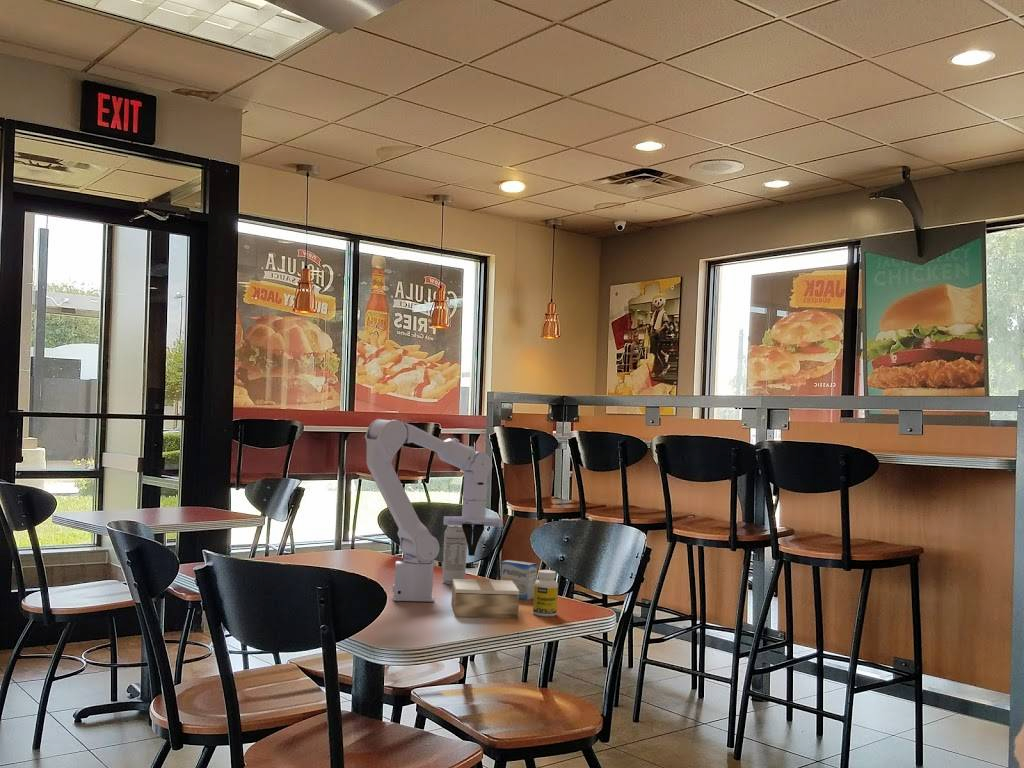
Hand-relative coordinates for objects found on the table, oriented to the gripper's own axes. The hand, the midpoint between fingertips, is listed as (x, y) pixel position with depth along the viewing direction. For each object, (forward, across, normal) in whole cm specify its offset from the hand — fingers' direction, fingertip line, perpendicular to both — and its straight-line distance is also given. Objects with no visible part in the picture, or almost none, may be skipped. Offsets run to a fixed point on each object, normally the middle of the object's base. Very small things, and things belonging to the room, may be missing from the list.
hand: (471, 555), depth 233 cm
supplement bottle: (+10, +16, -20) cm, 27 cm away
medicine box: (+10, +12, 0) cm, 16 cm away
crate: (+10, +2, -18) cm, 21 cm away
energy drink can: (+10, -3, +17) cm, 20 cm away
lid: (+5, +2, -18) cm, 19 cm away
